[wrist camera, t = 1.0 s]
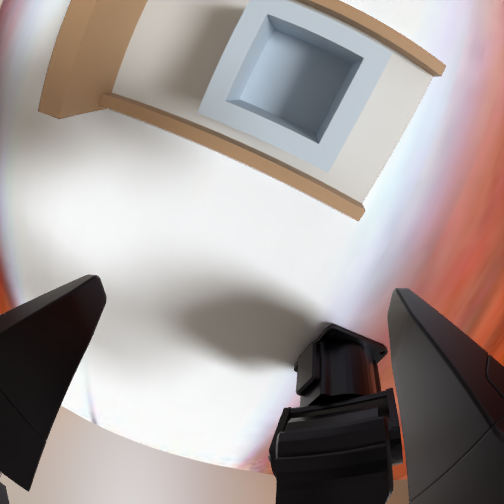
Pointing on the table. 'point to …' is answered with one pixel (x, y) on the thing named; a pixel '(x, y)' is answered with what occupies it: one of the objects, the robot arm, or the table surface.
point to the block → (294, 80)
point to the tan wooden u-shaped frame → (200, 74)
